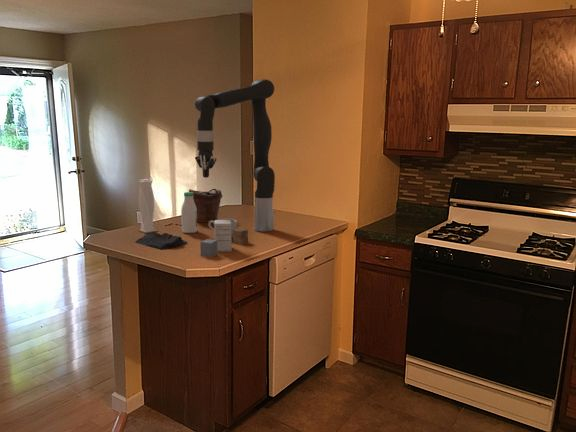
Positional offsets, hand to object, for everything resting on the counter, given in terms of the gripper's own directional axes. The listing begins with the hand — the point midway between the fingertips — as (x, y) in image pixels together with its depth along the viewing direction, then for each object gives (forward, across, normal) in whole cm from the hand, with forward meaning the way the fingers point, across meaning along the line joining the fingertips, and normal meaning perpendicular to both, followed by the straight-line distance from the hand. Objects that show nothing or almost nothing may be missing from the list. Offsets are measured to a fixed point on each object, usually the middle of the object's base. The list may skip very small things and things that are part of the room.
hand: (205, 177), depth 237 cm
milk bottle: (+29, +14, -1) cm, 32 cm away
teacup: (+29, -5, -6) cm, 30 cm away
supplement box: (+29, -22, +10) cm, 38 cm away
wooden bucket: (+29, +29, -25) cm, 48 cm away
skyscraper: (+29, +29, +13) cm, 43 cm away
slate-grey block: (+29, -24, +20) cm, 43 cm away
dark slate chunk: (+30, +6, +22) cm, 38 cm away
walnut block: (+29, -19, -4) cm, 35 cm away
